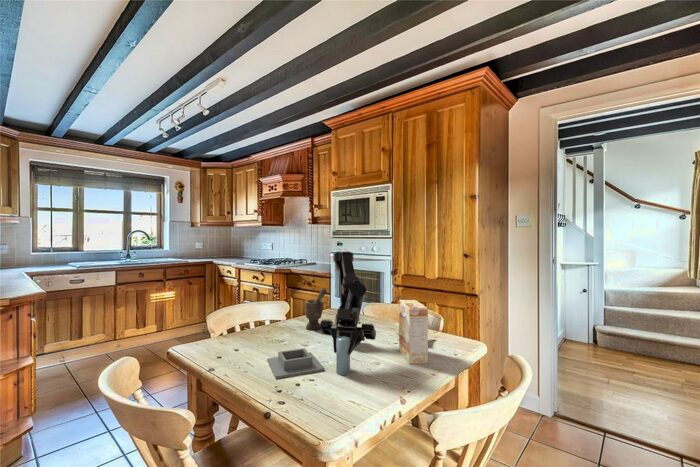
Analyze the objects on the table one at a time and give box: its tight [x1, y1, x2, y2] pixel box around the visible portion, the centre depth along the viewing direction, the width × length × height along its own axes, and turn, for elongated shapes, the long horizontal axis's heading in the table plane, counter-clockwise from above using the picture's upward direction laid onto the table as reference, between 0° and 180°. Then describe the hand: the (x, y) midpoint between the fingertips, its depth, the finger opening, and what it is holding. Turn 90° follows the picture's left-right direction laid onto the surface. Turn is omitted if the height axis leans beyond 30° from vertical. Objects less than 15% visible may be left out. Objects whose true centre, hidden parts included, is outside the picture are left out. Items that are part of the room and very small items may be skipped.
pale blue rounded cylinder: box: [335, 336, 351, 376], centre depth 105 cm, size 4×4×11 cm
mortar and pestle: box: [304, 287, 328, 331], centre depth 155 cm, size 12×9×20 cm
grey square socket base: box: [266, 347, 325, 380], centre depth 110 cm, size 16×16×4 cm
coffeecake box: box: [398, 299, 429, 365], centre depth 120 cm, size 15×7×20 cm, turn 5°
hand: (341, 353), depth 104 cm, fingers closed on pale blue rounded cylinder, 4 cm apart
